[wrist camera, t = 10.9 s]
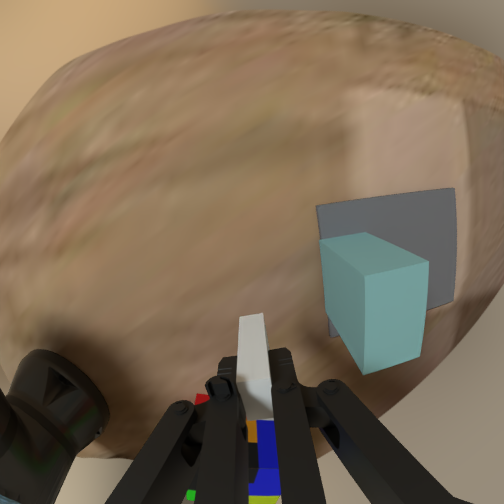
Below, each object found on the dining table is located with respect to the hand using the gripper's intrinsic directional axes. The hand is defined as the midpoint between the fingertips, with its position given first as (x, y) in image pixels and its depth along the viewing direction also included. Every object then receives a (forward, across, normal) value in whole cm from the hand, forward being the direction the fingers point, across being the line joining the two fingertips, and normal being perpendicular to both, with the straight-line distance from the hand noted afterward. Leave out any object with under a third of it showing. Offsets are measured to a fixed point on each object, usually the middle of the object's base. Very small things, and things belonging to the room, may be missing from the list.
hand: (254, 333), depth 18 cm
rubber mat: (+8, +15, 0) cm, 17 cm away
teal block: (+8, +9, 0) cm, 11 cm away
